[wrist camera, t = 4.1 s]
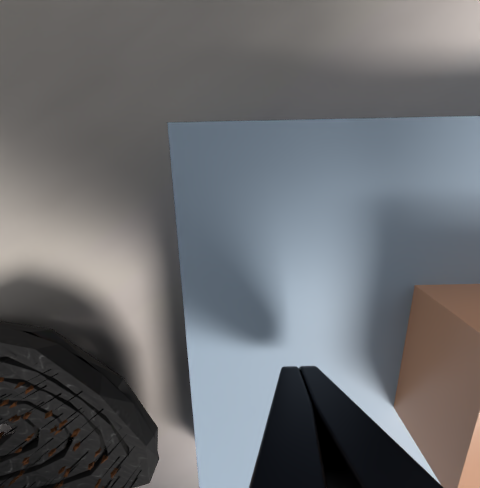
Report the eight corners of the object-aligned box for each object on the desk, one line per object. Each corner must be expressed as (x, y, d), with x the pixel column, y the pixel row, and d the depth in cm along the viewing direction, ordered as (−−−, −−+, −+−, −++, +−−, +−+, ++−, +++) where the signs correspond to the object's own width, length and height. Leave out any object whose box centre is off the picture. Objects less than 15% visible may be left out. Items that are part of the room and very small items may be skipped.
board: (601, 438, 12) (671, 494, 10) (207, 446, 12) (200, 503, 10) (749, 118, 8) (905, 106, 6) (183, 130, 8) (167, 122, 6)
